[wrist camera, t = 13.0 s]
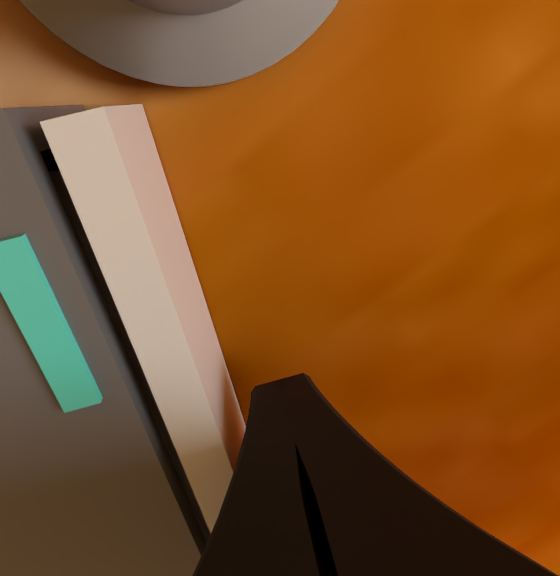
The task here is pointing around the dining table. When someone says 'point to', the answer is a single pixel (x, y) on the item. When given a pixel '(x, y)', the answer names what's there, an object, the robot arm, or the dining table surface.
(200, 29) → the grey cup
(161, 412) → the tray
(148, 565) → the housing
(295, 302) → the dining table surface
